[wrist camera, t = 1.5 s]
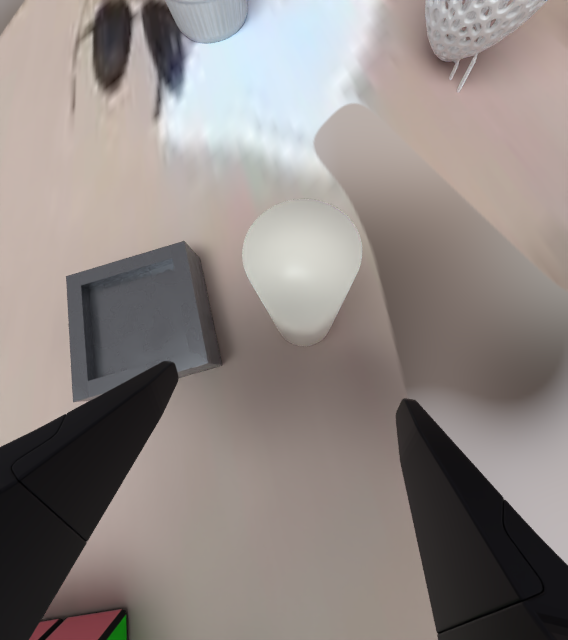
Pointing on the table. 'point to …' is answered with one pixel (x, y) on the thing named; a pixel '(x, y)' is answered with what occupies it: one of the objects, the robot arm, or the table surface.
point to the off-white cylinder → (302, 265)
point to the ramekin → (208, 18)
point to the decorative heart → (471, 17)
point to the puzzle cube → (84, 627)
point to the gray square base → (139, 319)
